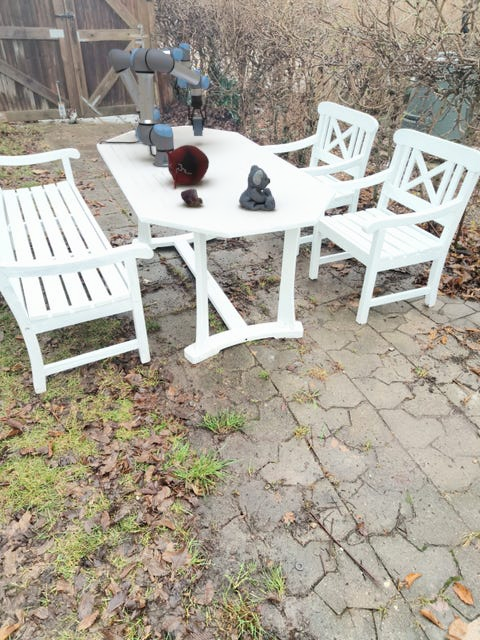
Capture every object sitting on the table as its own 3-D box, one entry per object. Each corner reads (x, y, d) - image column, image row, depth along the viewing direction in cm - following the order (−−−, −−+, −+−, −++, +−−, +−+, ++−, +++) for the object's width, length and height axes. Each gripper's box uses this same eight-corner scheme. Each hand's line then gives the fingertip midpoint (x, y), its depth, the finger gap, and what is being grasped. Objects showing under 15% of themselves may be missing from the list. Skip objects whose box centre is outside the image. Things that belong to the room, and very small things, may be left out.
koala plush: (276, 211, 223) (277, 171, 212) (240, 212, 222) (240, 172, 211) (271, 199, 237) (272, 161, 226) (237, 200, 236) (237, 162, 225)
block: (202, 136, 327) (201, 118, 320) (194, 136, 327) (193, 119, 320) (202, 133, 334) (201, 116, 328) (194, 133, 334) (193, 116, 327)
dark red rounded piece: (166, 150, 266) (161, 149, 242) (205, 142, 265) (203, 139, 241) (175, 187, 273) (171, 189, 249) (213, 178, 272) (212, 180, 248)
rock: (196, 202, 238) (178, 205, 233) (194, 185, 234) (176, 188, 230) (205, 205, 228) (187, 208, 224) (203, 188, 224) (185, 191, 220)
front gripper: (209, 94, 319) (211, 128, 332) (182, 94, 318) (185, 129, 331) (209, 95, 313) (211, 130, 326) (182, 95, 312) (184, 131, 325)
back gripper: (202, 67, 338) (204, 98, 350) (169, 67, 337) (172, 98, 349) (202, 68, 332) (203, 99, 344) (168, 68, 331) (171, 100, 343)
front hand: (198, 129), depth 328 cm, fingers closed on block, 6 cm apart
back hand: (187, 99), depth 346 cm, fingers open, 13 cm apart
